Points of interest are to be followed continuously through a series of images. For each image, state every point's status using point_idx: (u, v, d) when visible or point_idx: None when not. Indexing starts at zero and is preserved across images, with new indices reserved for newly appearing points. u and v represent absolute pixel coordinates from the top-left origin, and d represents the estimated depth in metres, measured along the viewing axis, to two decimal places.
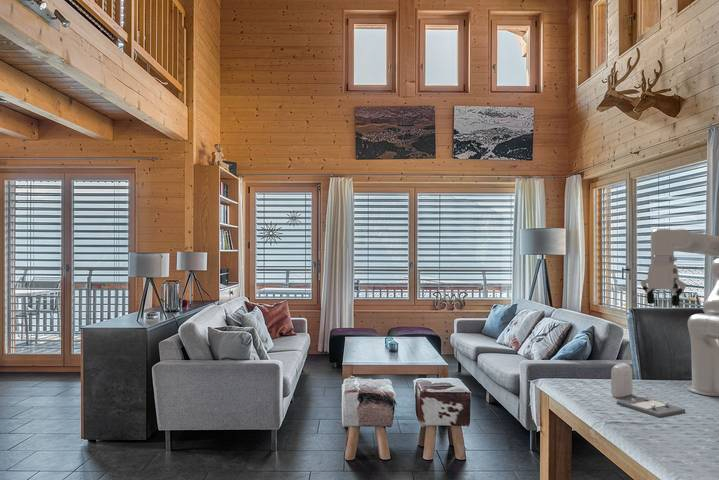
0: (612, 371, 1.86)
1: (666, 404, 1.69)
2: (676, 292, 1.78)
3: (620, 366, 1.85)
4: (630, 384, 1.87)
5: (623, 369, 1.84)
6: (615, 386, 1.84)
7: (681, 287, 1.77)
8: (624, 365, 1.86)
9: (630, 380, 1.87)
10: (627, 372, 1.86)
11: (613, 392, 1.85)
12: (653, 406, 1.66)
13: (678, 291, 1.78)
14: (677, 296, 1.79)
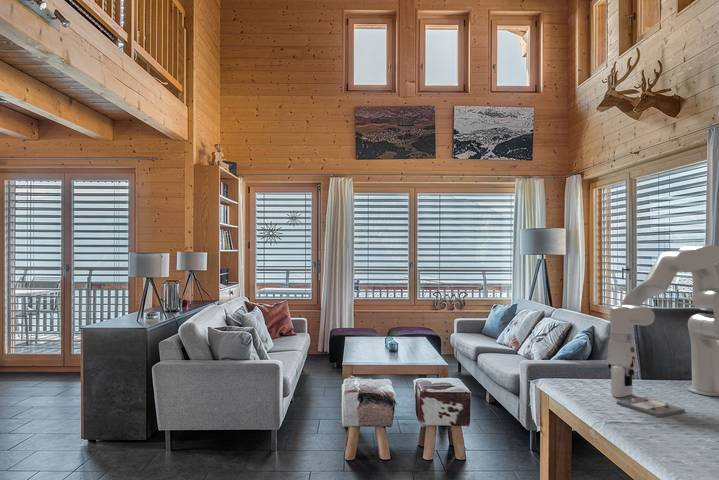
0: (612, 371, 1.86)
1: (666, 404, 1.69)
2: (629, 374, 1.83)
3: (620, 366, 1.85)
4: None
5: (623, 369, 1.84)
6: (615, 386, 1.84)
7: (634, 369, 1.82)
8: None
9: None
10: None
11: (613, 392, 1.85)
12: (653, 406, 1.66)
13: (630, 372, 1.83)
14: (630, 377, 1.84)
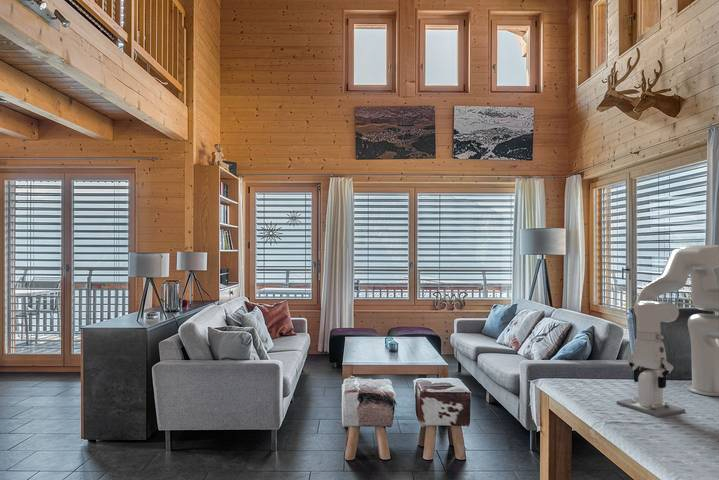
0: (639, 378, 1.70)
1: (666, 404, 1.69)
2: (662, 374, 1.66)
3: (648, 373, 1.69)
4: (660, 392, 1.70)
5: (652, 376, 1.69)
6: (643, 395, 1.68)
7: (668, 369, 1.65)
8: (653, 371, 1.70)
9: (660, 389, 1.71)
10: (656, 379, 1.70)
11: (640, 401, 1.69)
12: (653, 406, 1.66)
13: (664, 373, 1.66)
14: (663, 378, 1.66)
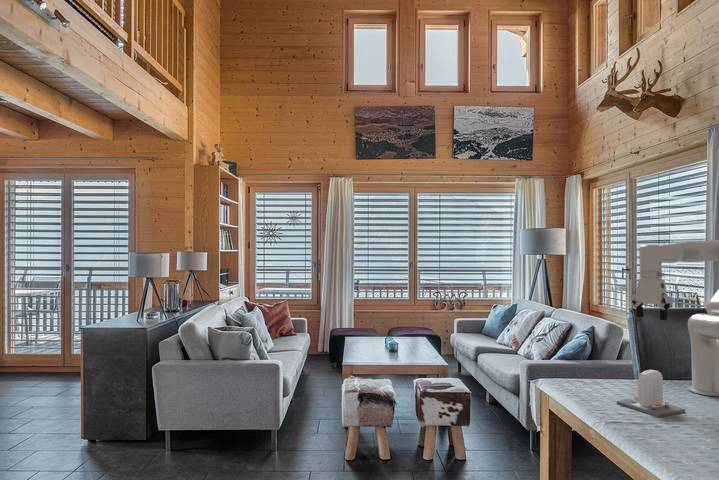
0: (639, 378, 1.70)
1: (666, 404, 1.69)
2: (664, 307, 1.82)
3: (648, 373, 1.69)
4: (660, 392, 1.70)
5: (652, 376, 1.69)
6: (643, 395, 1.68)
7: (669, 302, 1.81)
8: (653, 372, 1.70)
9: (660, 389, 1.71)
10: (656, 379, 1.70)
11: (640, 401, 1.69)
12: (653, 406, 1.66)
13: (666, 306, 1.82)
14: (665, 311, 1.82)
